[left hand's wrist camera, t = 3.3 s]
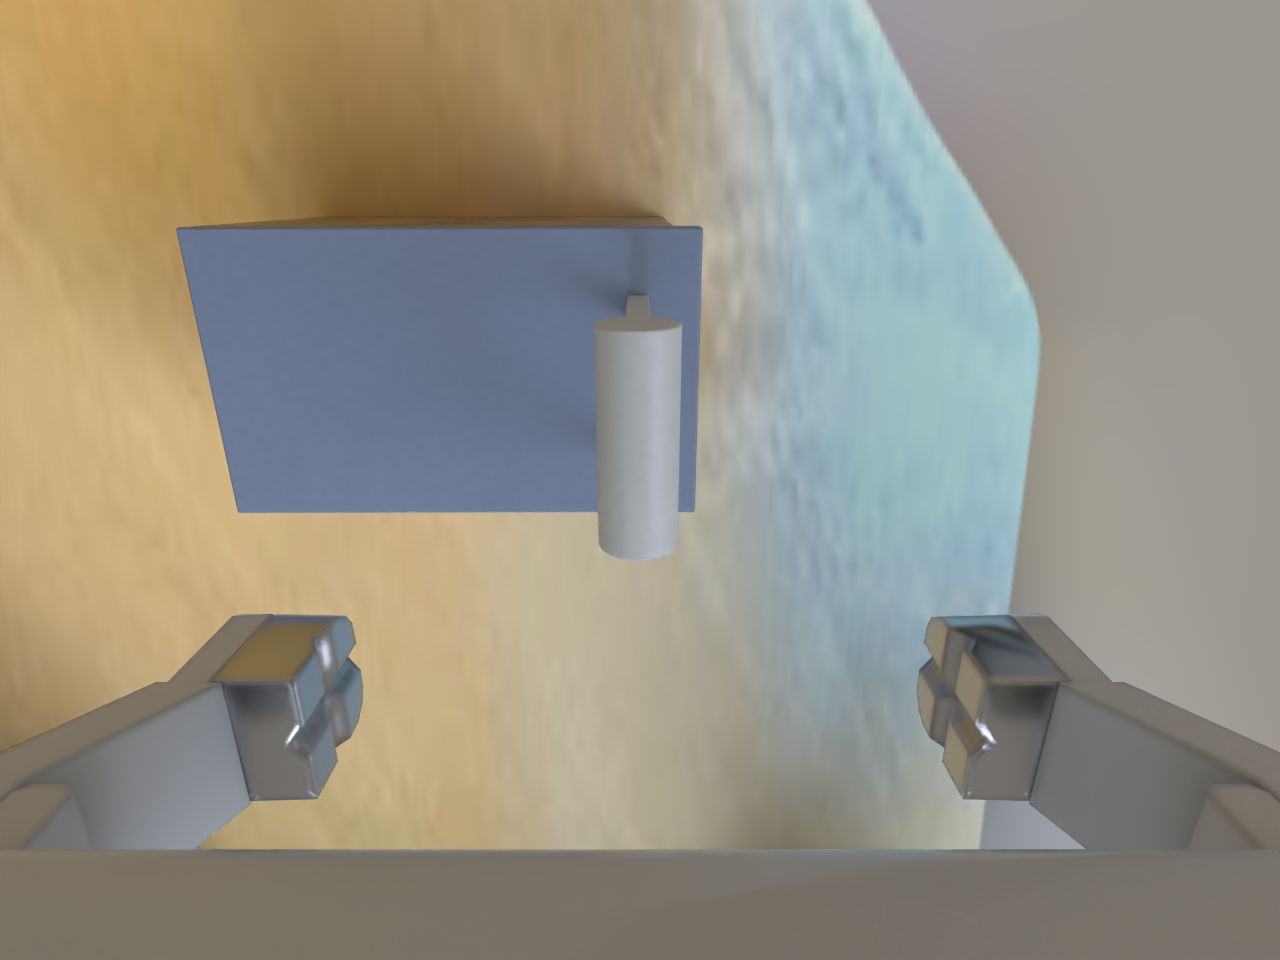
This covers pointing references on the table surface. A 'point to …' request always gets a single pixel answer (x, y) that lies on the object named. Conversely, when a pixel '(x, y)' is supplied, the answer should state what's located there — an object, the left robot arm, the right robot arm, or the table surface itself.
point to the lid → (456, 369)
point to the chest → (464, 221)
